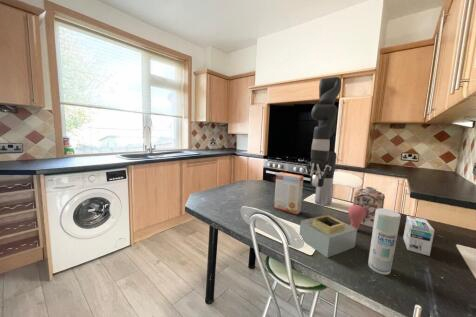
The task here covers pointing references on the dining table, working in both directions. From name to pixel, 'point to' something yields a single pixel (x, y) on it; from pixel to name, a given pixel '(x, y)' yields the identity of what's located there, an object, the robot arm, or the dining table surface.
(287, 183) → the cracker box
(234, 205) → the dining table surface
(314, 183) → the pellet
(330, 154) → the robot arm
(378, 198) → the decorative jar
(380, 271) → the spray can
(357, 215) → the light bulb
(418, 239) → the light bulb box
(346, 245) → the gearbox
